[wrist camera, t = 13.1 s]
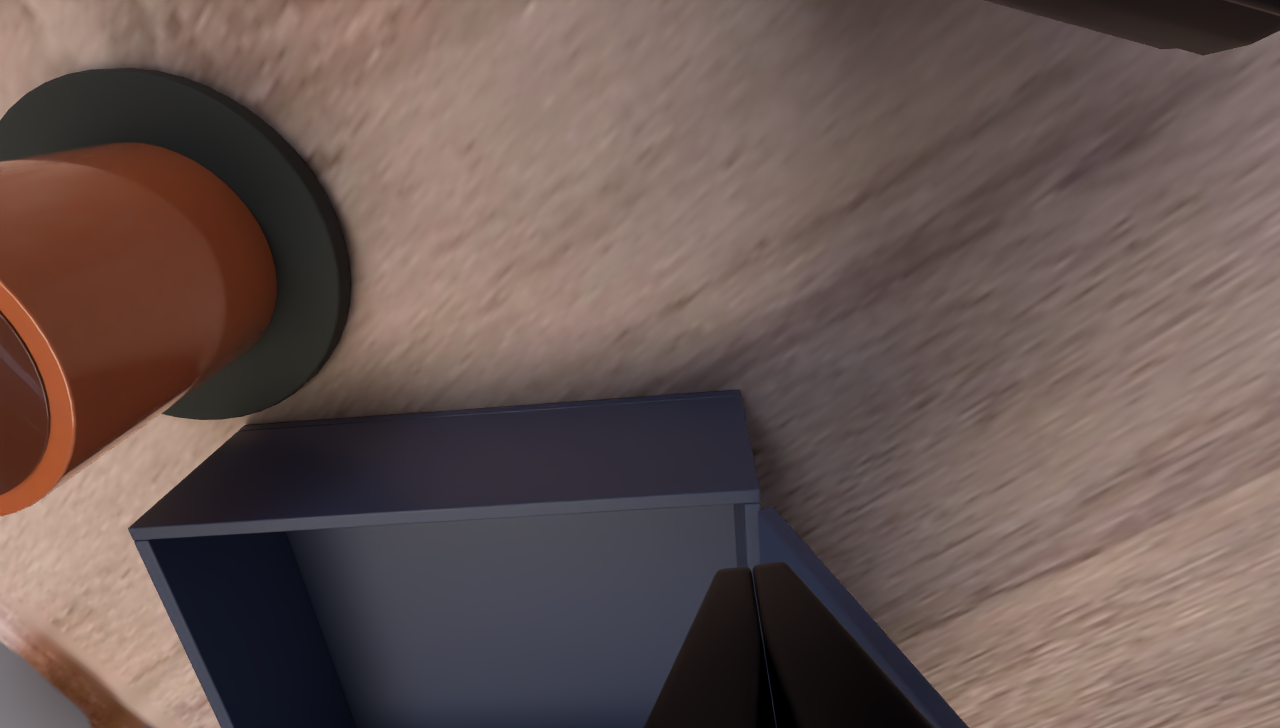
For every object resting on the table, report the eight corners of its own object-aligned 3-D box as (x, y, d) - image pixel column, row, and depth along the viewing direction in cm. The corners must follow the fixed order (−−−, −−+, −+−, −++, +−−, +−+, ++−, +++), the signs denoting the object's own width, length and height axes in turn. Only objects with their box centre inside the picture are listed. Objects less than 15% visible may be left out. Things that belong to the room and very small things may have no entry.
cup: (0, 153, 19) (-388, 214, 12) (234, 129, 18) (-30, 177, 11) (98, 376, 21) (-174, 532, 15) (306, 360, 21) (126, 512, 14)
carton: (739, 389, 22) (760, 488, 17) (756, 733, 28) (775, 882, 23) (244, 424, 23) (126, 528, 18) (361, 747, 29) (297, 892, 24)
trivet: (-66, 89, 19) (-96, 90, 18) (293, 48, 18) (278, 48, 18) (87, 419, 23) (68, 431, 22) (387, 397, 22) (378, 408, 22)
